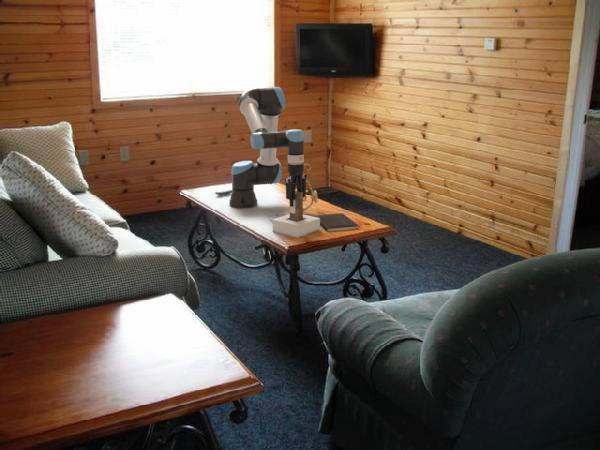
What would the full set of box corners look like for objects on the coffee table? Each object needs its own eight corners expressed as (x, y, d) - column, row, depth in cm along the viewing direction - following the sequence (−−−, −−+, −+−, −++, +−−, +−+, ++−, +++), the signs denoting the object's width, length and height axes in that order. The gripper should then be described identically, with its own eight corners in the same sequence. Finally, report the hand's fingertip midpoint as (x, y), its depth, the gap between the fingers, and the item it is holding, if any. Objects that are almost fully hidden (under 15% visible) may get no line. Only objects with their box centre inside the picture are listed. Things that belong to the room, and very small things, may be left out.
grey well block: (294, 224, 346) (294, 212, 344) (319, 230, 336) (319, 218, 335) (272, 231, 334) (272, 219, 333) (298, 238, 325) (298, 225, 323)
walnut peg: (295, 219, 337) (295, 190, 333) (302, 220, 334) (302, 192, 330) (289, 221, 334) (289, 192, 330) (297, 223, 331) (296, 194, 327)
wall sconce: (313, 207, 377) (313, 161, 370) (318, 211, 368) (318, 164, 361) (288, 208, 374) (287, 162, 367) (292, 213, 365) (291, 166, 358)
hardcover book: (342, 217, 359) (342, 213, 359) (358, 229, 338) (358, 225, 338) (312, 220, 355) (312, 215, 355) (326, 232, 334) (326, 228, 333)
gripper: (289, 167, 317) (290, 217, 324) (313, 161, 330) (313, 209, 337) (277, 165, 322) (278, 214, 328) (301, 159, 335) (301, 206, 341)
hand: (296, 211), depth 333 cm, fingers closed on walnut peg, 4 cm apart
